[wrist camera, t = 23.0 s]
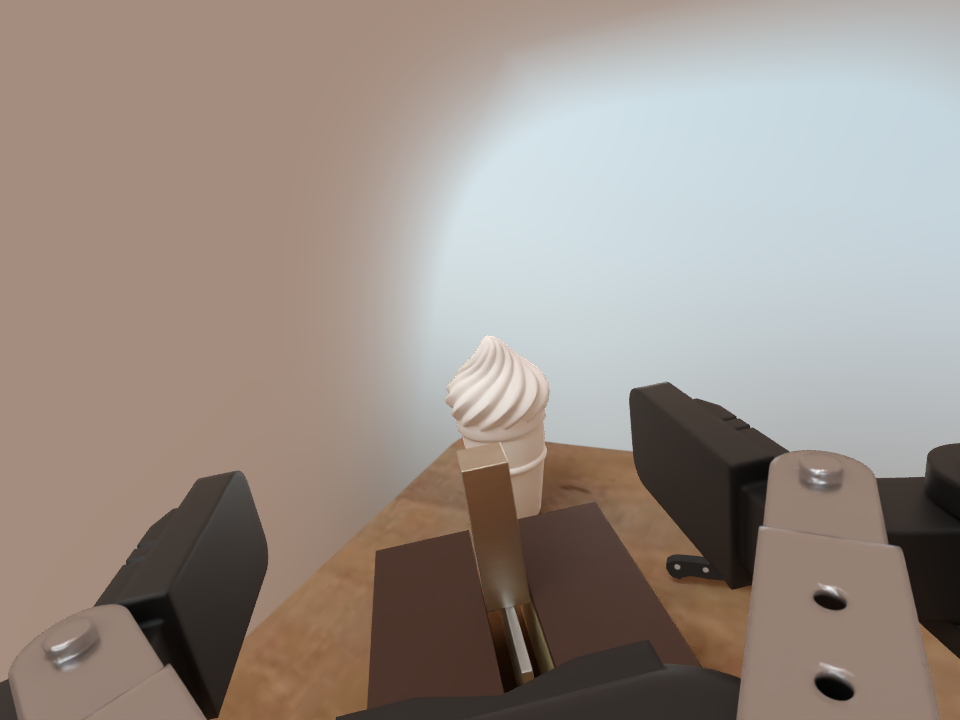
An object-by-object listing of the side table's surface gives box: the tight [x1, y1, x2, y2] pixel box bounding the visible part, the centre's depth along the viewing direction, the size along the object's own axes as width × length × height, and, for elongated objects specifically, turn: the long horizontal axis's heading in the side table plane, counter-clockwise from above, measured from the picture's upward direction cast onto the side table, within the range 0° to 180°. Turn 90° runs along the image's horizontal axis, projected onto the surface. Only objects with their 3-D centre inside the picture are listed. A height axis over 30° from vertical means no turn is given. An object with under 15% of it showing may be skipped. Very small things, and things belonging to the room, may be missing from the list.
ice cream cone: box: [446, 335, 550, 519], centre depth 45 cm, size 8×8×16 cm
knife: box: [666, 554, 723, 580], centre depth 34 cm, size 15×1×2 cm, turn 66°
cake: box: [367, 502, 703, 709], centre depth 28 cm, size 16×14×7 cm
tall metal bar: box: [457, 442, 534, 687], centre depth 29 cm, size 10×2×15 cm, turn 8°
